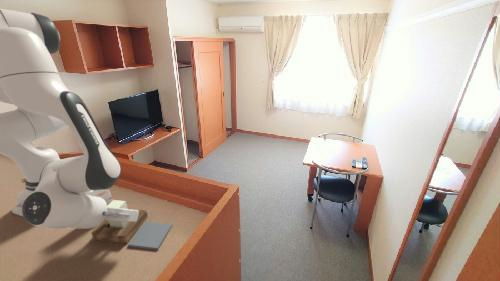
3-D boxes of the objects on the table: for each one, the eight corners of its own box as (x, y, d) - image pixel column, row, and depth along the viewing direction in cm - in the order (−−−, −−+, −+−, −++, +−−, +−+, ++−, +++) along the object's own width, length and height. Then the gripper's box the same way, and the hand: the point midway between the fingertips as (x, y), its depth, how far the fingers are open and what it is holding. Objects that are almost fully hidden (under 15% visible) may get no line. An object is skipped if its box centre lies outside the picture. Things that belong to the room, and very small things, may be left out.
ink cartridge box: (110, 207, 90) (99, 175, 84) (117, 212, 87) (106, 179, 81) (86, 221, 83) (72, 187, 77) (93, 226, 81) (80, 192, 75)
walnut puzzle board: (94, 239, 76) (91, 232, 74) (118, 213, 86) (116, 207, 85) (127, 243, 74) (125, 236, 73) (147, 216, 85) (146, 210, 84)
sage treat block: (112, 231, 79) (104, 208, 74) (120, 222, 83) (113, 199, 78) (124, 233, 78) (116, 210, 74) (132, 223, 82) (125, 201, 78)
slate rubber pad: (128, 246, 73) (128, 244, 73) (145, 223, 82) (145, 221, 82) (158, 249, 72) (157, 248, 71) (172, 225, 81) (172, 224, 80)
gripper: (125, 203, 65) (150, 207, 78) (62, 197, 68) (96, 202, 81) (119, 227, 63) (145, 227, 76) (53, 220, 66) (90, 221, 79)
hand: (119, 214), depth 79 cm, fingers closed on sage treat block, 4 cm apart
